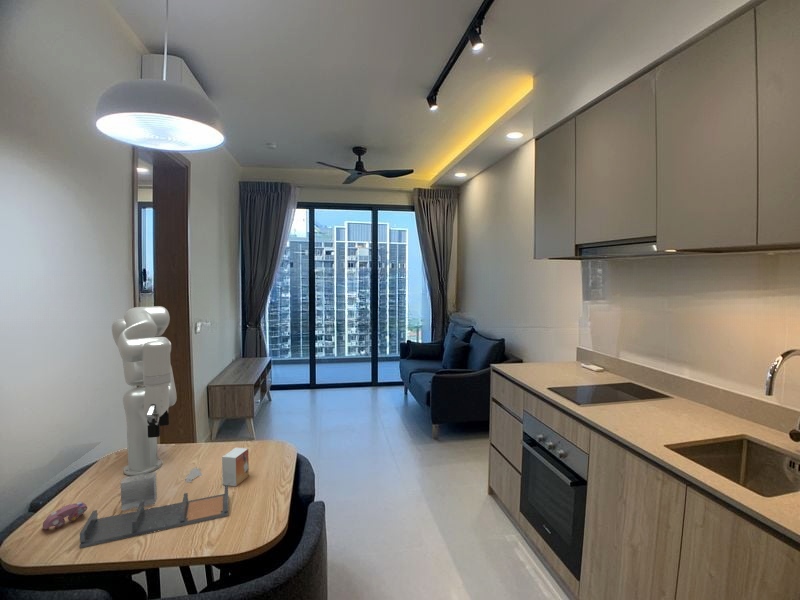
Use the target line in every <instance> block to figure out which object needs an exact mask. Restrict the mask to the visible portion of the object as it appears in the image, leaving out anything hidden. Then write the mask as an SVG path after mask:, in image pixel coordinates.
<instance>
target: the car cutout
mask: <svg viewBox="0 0 800 600" xmlns="http://www.w3.org/2000/svg"><path fill="white" fill-rule="evenodd" d="M197 476H198V477H200V476H202V477H203V474H202V472H201V468H197V466H196V467H194V468H192V469H191V470H189V473H188V474H187V475H186V478H185V480H184V481H186V482H185V483H189V482H192V483H193V480H194V478H195V477H197ZM198 477H197V478H198ZM192 479H193V480H192ZM195 479H196V478H195Z"/></svg>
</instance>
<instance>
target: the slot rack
mask: <svg viewBox="0 0 800 600" xmlns="http://www.w3.org/2000/svg"><path fill="white" fill-rule="evenodd" d="M188 494H189V493H188V492H185V493H183V498H182V501H181V502H177V503H171V504H166V505H161V506H156V507H151V508H145V507H144V501H142V502H140V504H139V507H138V508H136V511H132V512H126V513H120V514H115V515H112V516H105V517H100V518H98V510H92V512H91V513H90V515H89V517H88V518H87V520H86V522H85V523H84V525H83V527H82V529H81V530H80V531H79V549H83V548H87V547H92V546H96V545H100V544H101V545H102V544H105V543H110V542H111V543H112V542H115V541H119V540H123V539H127V538H132V537H138V536H142V534H143V535H147V534H151V533H150V532H152V533H155V532H154V531H156V532H159V531H158V530H161V531H165V529H166V530H169V529H174V528H178V527H183V525H184V526H187V525H192V524H196V523H198V524H199V523H202V522H206V521H211V520H215V519H221V518H225V517H228V516H229V486H228V485H224V493H221V494H217V495H212V496H206V497H203V498H201V497H200V498H197V499H193V500H189V496H188ZM146 533H147V534H146Z"/></svg>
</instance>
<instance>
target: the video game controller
mask: <svg viewBox="0 0 800 600" xmlns="http://www.w3.org/2000/svg"><path fill="white" fill-rule="evenodd" d="M87 509H88V506H87V504H86V503H85V502H83V501H82V502H81V501H78V502H77V503H69V504H66V505H64V506H62V507H61V508H59V509H58V510H56V511H55V510H54V511H53V512H51V513H50V514H48V516H47V517H46V518H45V519H44V521H43V522H42V528H43V530H48V529H49V528H51V527H55V528H57V529H58V528H60V527H62V526H64V525H65V523H66V520H65V518H67V520H68V521H69V523H72V522H75V521H76V520H78V518H79V517H80V516H81V515H83V514H84V513H85V512H86V511H87Z"/></svg>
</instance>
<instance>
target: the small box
mask: <svg viewBox="0 0 800 600" xmlns="http://www.w3.org/2000/svg"><path fill="white" fill-rule="evenodd" d="M221 465H222V466H221V469H222V477H221V478H222V485H223V486H227V485H228V487H229V486H231V487H237V486H239V484H241V483H242V482H243V481H244V480H245V479H247V478H248V477H249V475H250V474H249V471H250V468H249V448H245V447H234V448H233V449H231V450H230V451H229V452H227V453H226V454H224V455H222V457H221Z"/></svg>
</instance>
